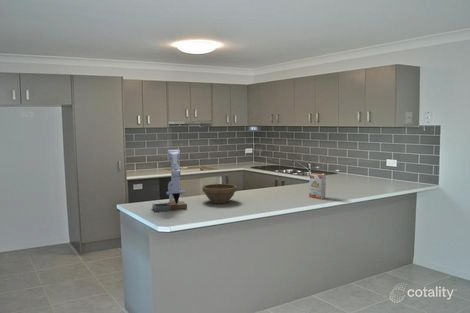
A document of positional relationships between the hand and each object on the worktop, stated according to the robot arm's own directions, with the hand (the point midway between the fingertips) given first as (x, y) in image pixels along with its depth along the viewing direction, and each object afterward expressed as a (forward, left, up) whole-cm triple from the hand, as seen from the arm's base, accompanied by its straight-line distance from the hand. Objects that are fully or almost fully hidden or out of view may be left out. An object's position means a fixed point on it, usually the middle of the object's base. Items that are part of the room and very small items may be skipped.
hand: (176, 203), depth 316 cm
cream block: (-6, 0, -1) cm, 6 cm away
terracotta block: (0, -3, -1) cm, 3 cm away
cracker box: (+2, +125, -5) cm, 125 cm away
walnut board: (-3, +2, -5) cm, 6 cm away
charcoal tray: (-3, -11, -5) cm, 12 cm away
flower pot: (-14, +40, -5) cm, 43 cm away
